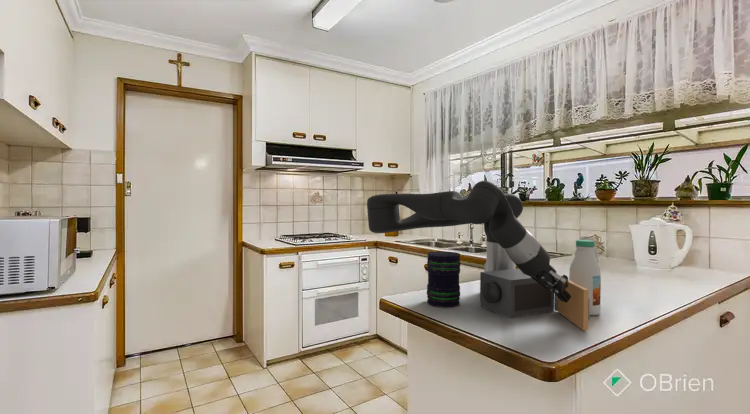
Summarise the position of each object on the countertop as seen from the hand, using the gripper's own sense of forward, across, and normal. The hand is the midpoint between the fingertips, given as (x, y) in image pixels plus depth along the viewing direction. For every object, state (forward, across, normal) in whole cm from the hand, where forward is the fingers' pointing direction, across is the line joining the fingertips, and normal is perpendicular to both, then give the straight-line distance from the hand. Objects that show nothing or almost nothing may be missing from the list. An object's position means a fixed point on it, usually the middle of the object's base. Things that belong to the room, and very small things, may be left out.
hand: (566, 299), depth 94 cm
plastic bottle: (+19, -16, +10) cm, 27 cm away
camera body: (+2, -15, -8) cm, 17 cm away
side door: (+7, -3, -2) cm, 8 cm away
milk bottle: (+14, -8, +5) cm, 17 cm away
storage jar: (-10, -26, -20) cm, 34 cm away
